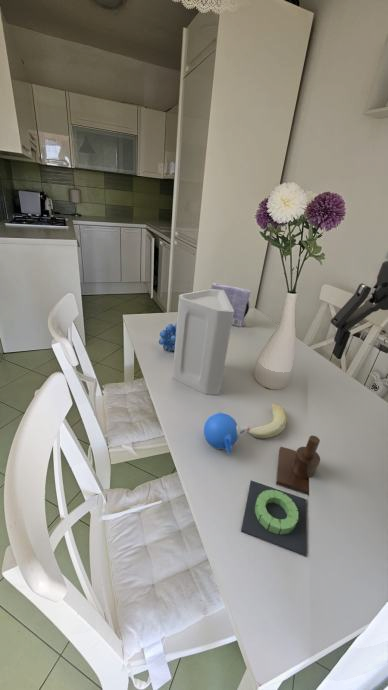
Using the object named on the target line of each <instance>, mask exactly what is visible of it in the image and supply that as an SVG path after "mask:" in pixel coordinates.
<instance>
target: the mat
mask: <svg viewBox="0 0 388 690" xmlns="http://www.w3.org/2000/svg"><path fill="white" fill-rule="evenodd" d="M265 490H277V491H279V492H282V493H283V495H284V494H286V495H287V496H288V497H289V498H290V499H292V502H294V503H295V505H296V507H297V509H298V522H297V524H296V526H295V528H294V529H293V530H292V531H291V532H289V533H288V534H281V535H280V534H276V533H273V532H270V531H268V529H269V528H268V529H266V528H265V527H264V526H263V525H262V524H261V523H260V522H259V521H260V520H259V521H258V519H257V516H256V513H255V505H256V501H257V497H258V496H259V495H260V494H261V493H262V492H263V491H264V492H265ZM265 507H266V509H267V512H268V513H269V514H270V515H271V516H272V517H273V518H276V519H279V520H282V519H286V518H287V514H286V512H285V510H284V509H283V508H282V507H281V506H280V505H278V504H276V503H268V504H267V505H266V506H265ZM242 518H243V519H242V523H241V528H240V532H241V533H244V534H247V535H249V536H252V537H254V538H257V539H259V540H262V541H265V542H267V543H269V544H272V545H276V546H277V547H280V548H283V549H286V550H288V551H291V552H293V553H295V554H298V555H301V556H304V557H307V499H306V498H304V497H301V496H299V495H295V494H292V493H290V492H287V491H283V490H281V489H277V488H274V487H272V486H269V485H266V484H263V483H260V482H258V481H254V480H252V479H250V482H249V487H248V492H247V497H246V502H245V507H244V513H243V517H242Z"/></svg>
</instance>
